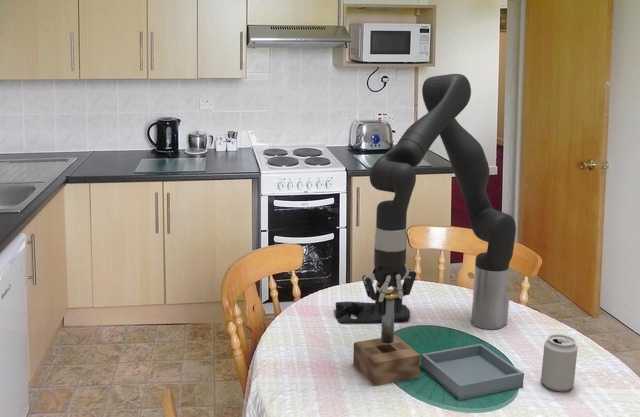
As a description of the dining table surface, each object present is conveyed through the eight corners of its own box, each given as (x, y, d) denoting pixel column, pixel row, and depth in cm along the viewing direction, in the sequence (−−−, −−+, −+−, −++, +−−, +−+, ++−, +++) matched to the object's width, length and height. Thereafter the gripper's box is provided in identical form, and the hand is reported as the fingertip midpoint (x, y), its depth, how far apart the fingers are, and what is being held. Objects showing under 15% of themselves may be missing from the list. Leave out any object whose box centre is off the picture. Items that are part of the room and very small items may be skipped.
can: (535, 378, 177) (540, 332, 174) (565, 377, 178) (570, 331, 175) (547, 393, 170) (552, 346, 167) (578, 392, 170) (584, 345, 167)
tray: (480, 356, 188) (481, 343, 187) (522, 386, 173) (524, 373, 172) (420, 367, 182) (421, 354, 181) (459, 400, 166) (460, 386, 165)
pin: (391, 336, 180) (392, 288, 177) (399, 343, 176) (401, 294, 173) (375, 338, 179) (376, 290, 176) (383, 345, 175) (385, 296, 172)
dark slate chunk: (411, 327, 207) (412, 311, 205) (334, 325, 207) (334, 309, 206) (407, 307, 221) (408, 292, 220) (335, 305, 222) (335, 290, 221)
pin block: (395, 357, 187) (396, 335, 186) (418, 377, 176) (420, 354, 175) (353, 364, 183) (353, 342, 181) (374, 386, 172) (375, 362, 170)
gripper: (409, 238, 177) (406, 304, 182) (356, 244, 172) (354, 311, 176) (424, 246, 171) (421, 315, 175) (370, 253, 165) (368, 323, 170)
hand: (388, 313), depth 176 cm, fingers closed on pin, 4 cm apart
